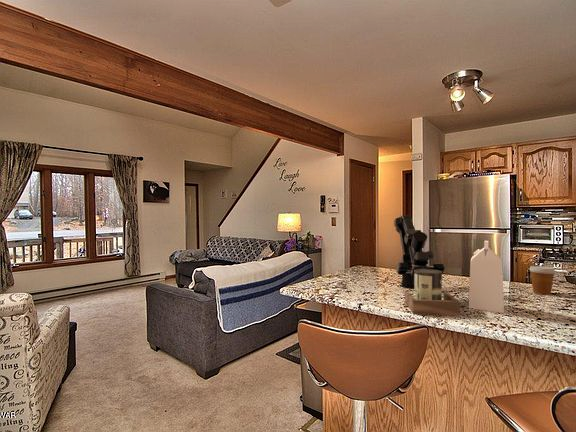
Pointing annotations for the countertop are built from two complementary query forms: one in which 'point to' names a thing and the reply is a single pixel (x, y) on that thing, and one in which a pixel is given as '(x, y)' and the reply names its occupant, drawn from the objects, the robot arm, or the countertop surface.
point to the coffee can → (428, 284)
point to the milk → (486, 281)
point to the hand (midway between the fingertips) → (424, 285)
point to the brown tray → (433, 305)
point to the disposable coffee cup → (542, 279)
